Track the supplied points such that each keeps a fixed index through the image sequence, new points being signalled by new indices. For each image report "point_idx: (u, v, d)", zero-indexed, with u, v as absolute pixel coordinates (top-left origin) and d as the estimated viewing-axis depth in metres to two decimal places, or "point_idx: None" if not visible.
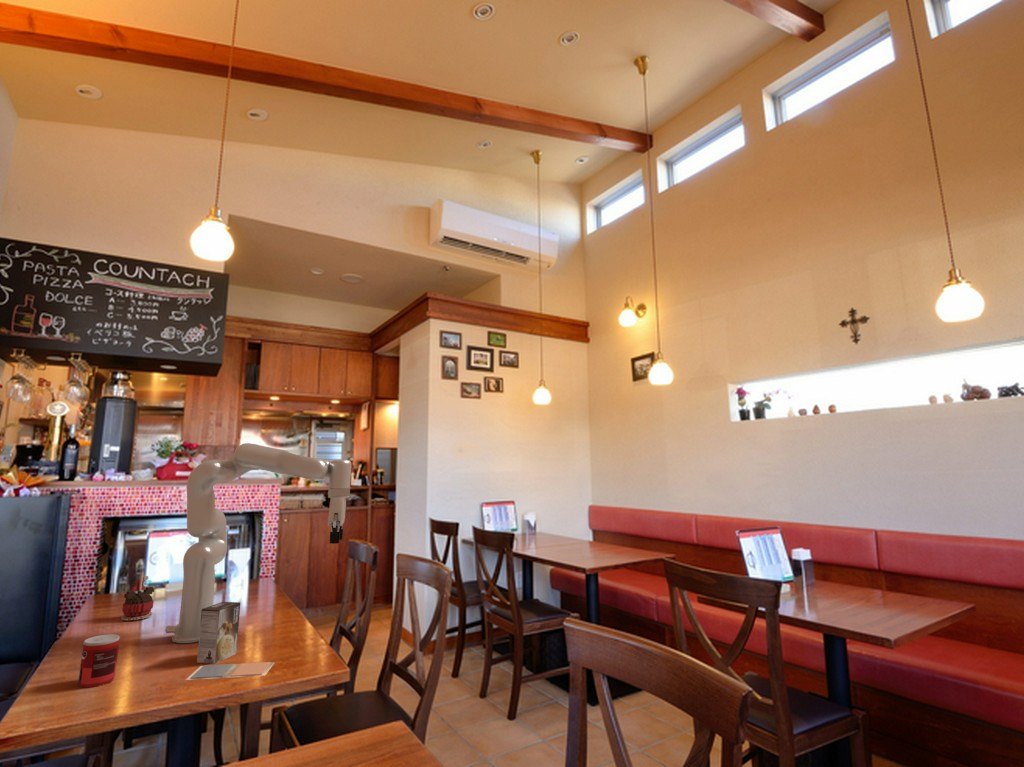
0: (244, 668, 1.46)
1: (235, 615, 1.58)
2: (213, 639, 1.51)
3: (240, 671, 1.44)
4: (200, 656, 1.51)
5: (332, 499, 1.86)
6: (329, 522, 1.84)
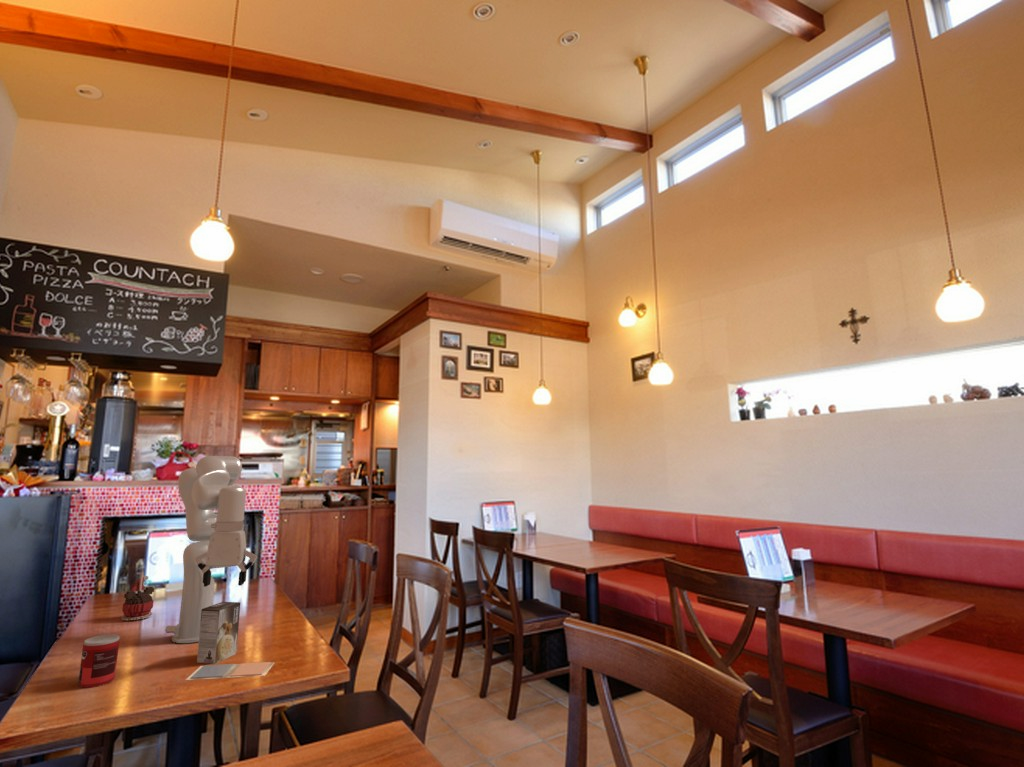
0: (244, 668, 1.46)
1: (235, 615, 1.58)
2: (213, 639, 1.51)
3: (240, 671, 1.44)
4: (200, 656, 1.51)
5: (242, 534, 1.60)
6: (241, 561, 1.58)
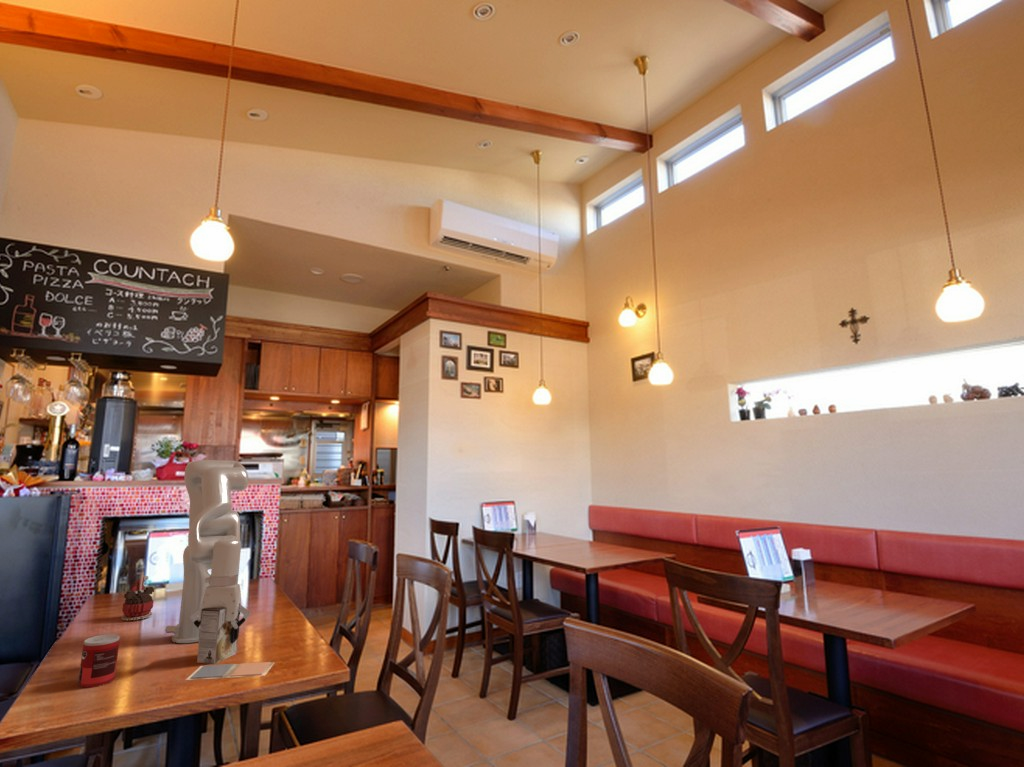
0: (244, 668, 1.46)
1: None
2: (213, 639, 1.51)
3: (240, 671, 1.44)
4: (200, 656, 1.51)
5: (236, 588, 1.57)
6: (236, 616, 1.55)
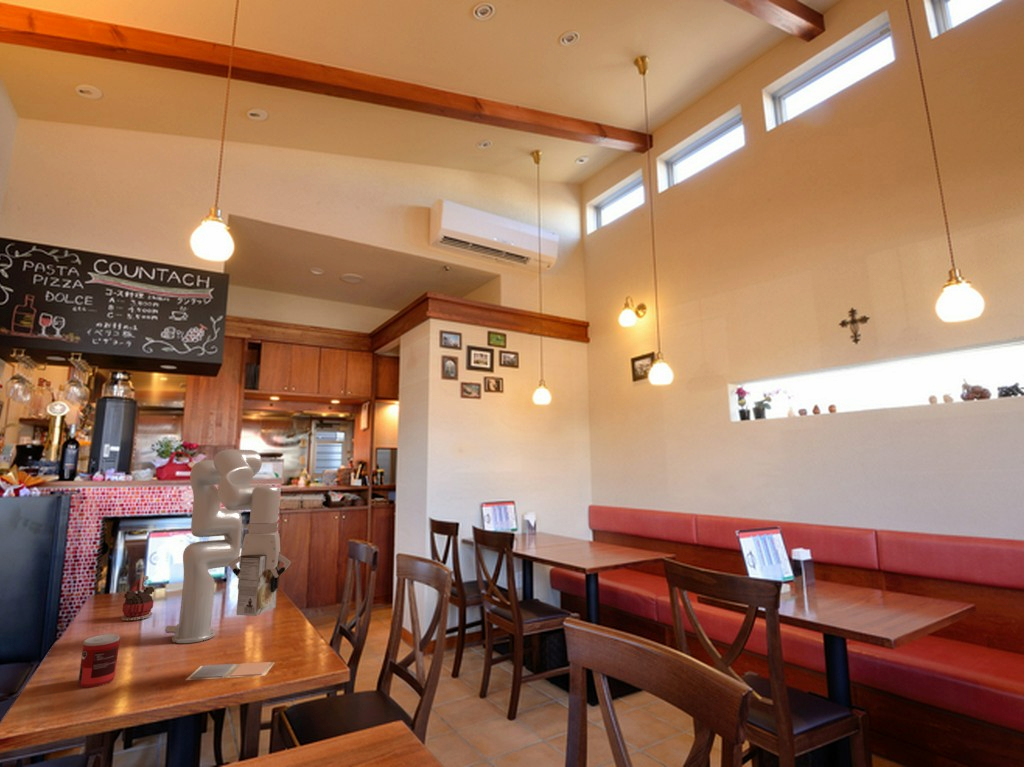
0: (244, 668, 1.46)
1: None
2: (253, 587, 1.45)
3: (240, 671, 1.44)
4: (240, 604, 1.45)
5: (276, 536, 1.51)
6: (276, 564, 1.49)
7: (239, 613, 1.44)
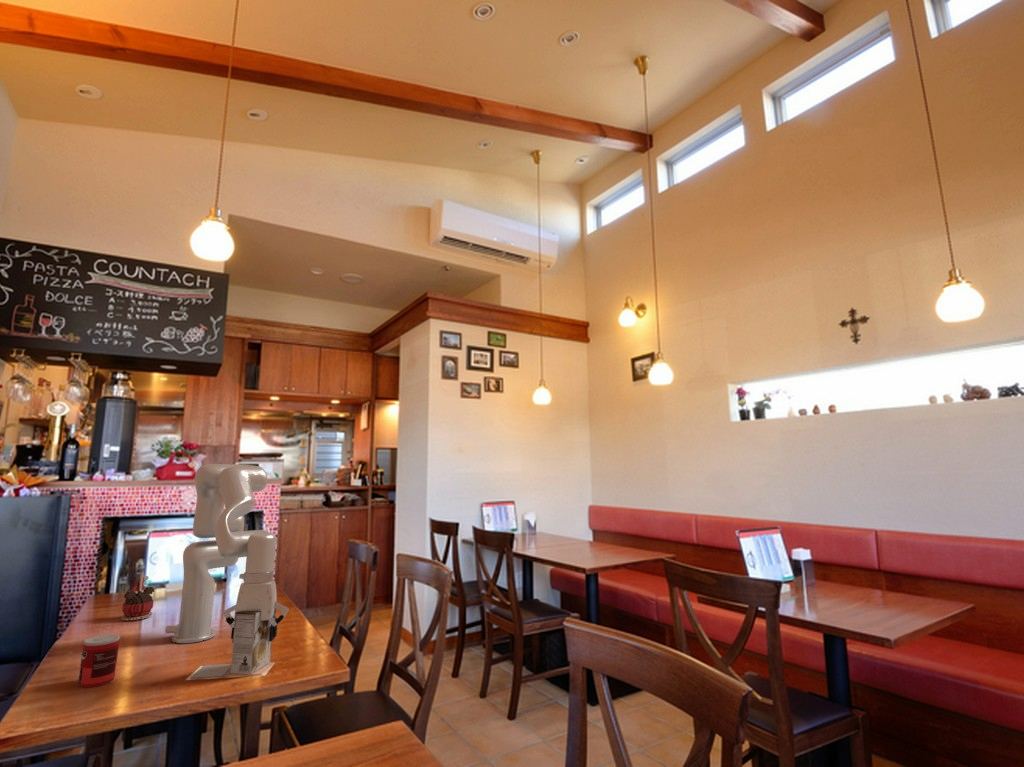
0: None
1: None
2: (249, 644, 1.43)
3: None
4: (234, 662, 1.42)
5: (272, 585, 1.49)
6: (272, 615, 1.47)
7: (233, 671, 1.42)
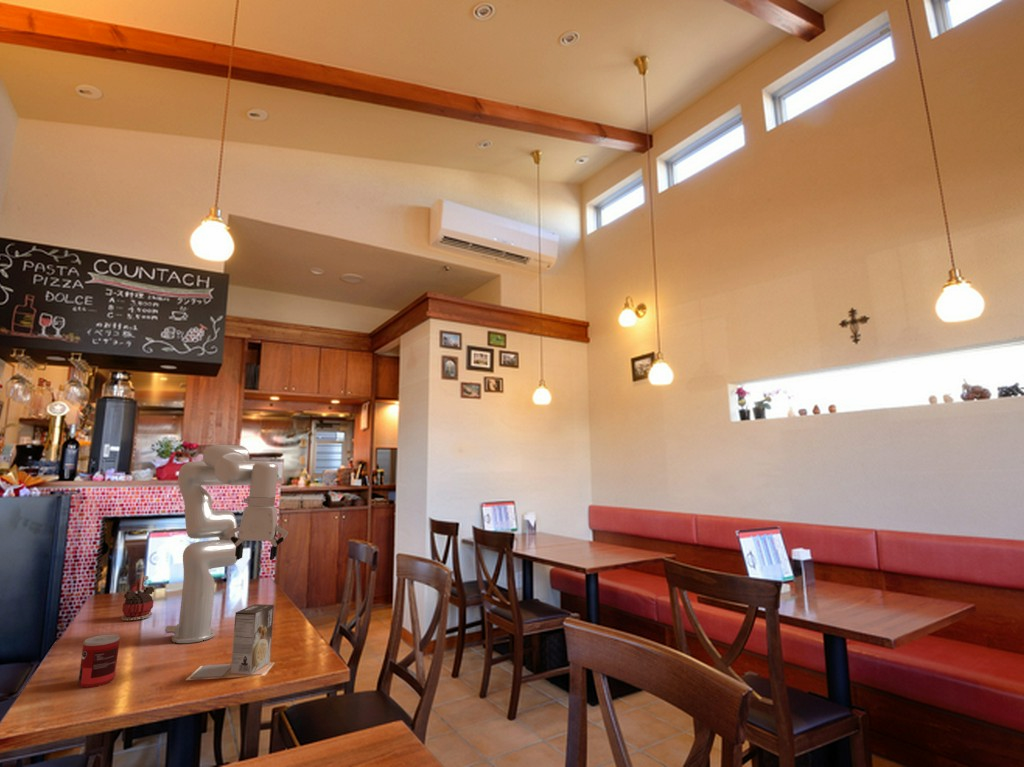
0: None
1: (269, 618, 1.50)
2: (249, 644, 1.43)
3: None
4: (234, 662, 1.42)
5: (274, 509, 1.61)
6: (273, 536, 1.60)
7: (233, 671, 1.42)
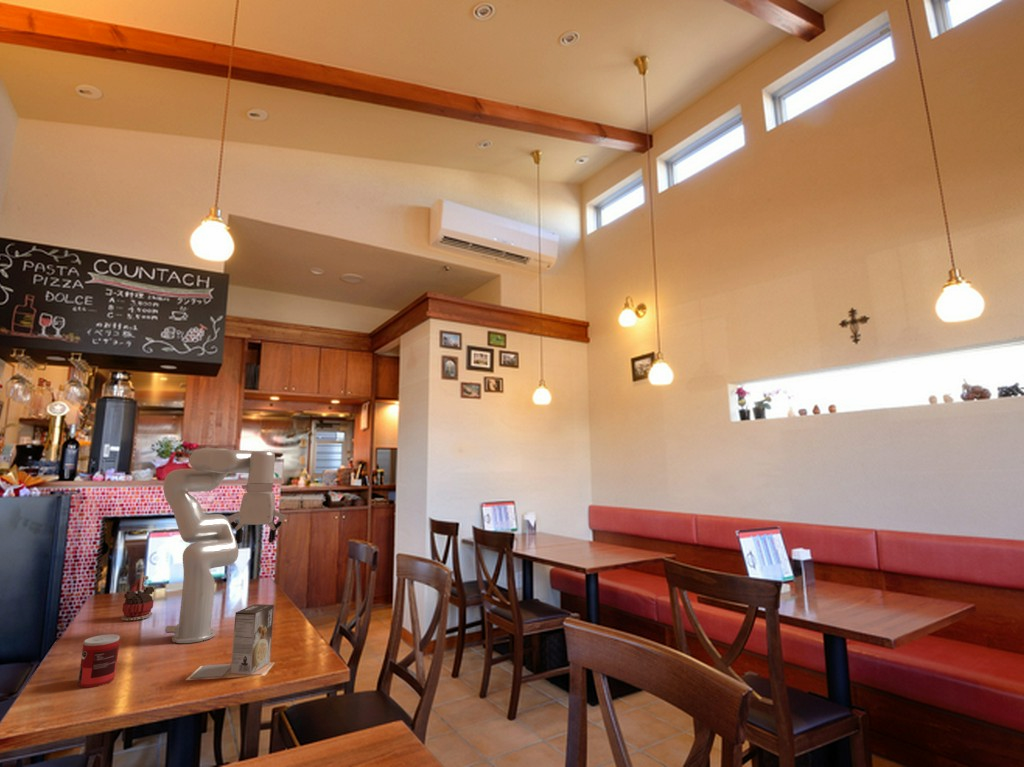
0: None
1: (269, 618, 1.50)
2: (249, 644, 1.43)
3: None
4: (234, 662, 1.42)
5: (272, 494, 1.69)
6: (271, 520, 1.68)
7: (233, 671, 1.42)
